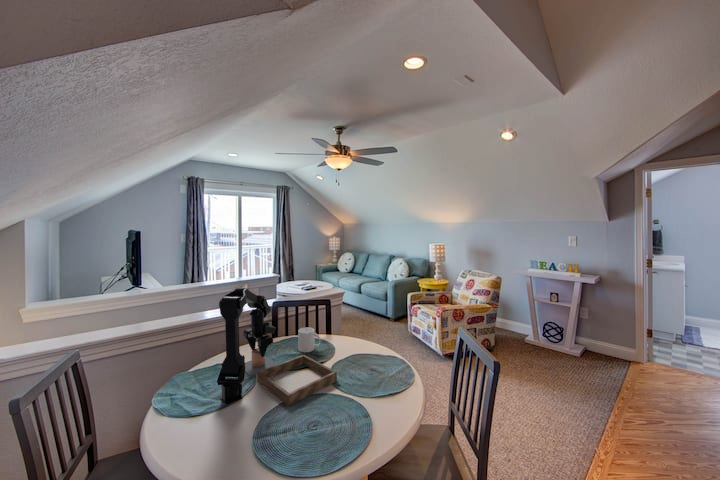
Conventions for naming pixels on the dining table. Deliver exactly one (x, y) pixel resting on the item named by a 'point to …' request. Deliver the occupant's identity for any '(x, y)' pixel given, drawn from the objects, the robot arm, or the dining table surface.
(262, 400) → the dining table surface
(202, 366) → the dining table surface
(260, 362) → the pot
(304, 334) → the mug
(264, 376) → the frame
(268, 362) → the mat
